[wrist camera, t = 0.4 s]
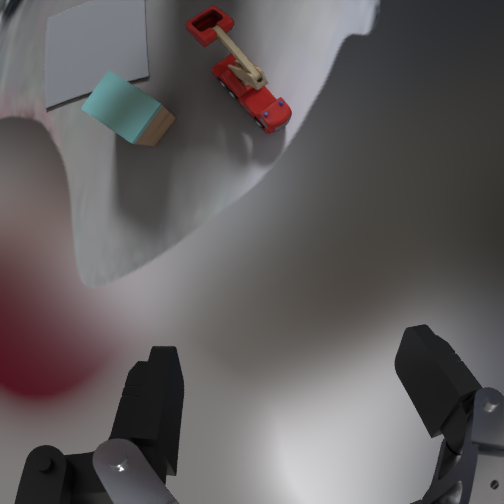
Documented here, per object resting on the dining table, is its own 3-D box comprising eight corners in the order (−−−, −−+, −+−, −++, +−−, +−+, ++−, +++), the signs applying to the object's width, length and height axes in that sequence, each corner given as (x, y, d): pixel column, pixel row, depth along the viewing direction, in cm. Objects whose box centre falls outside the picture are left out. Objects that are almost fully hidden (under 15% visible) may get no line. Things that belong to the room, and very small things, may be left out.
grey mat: (48, 19, 23) (46, 18, 23) (144, -14, 24) (144, -16, 24) (46, 108, 28) (45, 108, 28) (149, 76, 29) (148, 75, 29)
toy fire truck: (268, 138, 33) (287, 131, 24) (190, 53, 29) (182, 20, 20) (290, 120, 33) (316, 109, 23) (213, 37, 28) (213, 0, 19)
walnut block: (116, 119, 30) (81, 108, 21) (136, 91, 29) (108, 69, 20) (155, 146, 32) (131, 143, 22) (176, 118, 31) (160, 103, 22)
